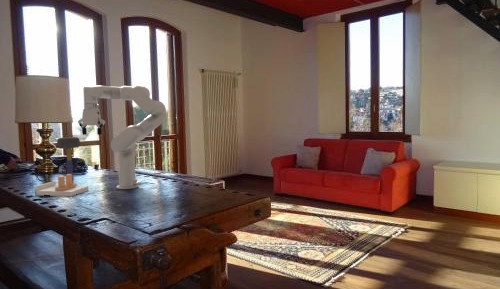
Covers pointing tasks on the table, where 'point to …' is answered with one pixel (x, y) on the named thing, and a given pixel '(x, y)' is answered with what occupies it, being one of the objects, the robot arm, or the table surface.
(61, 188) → the dome with square post
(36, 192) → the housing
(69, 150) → the rubber mallet
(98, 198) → the table surface
